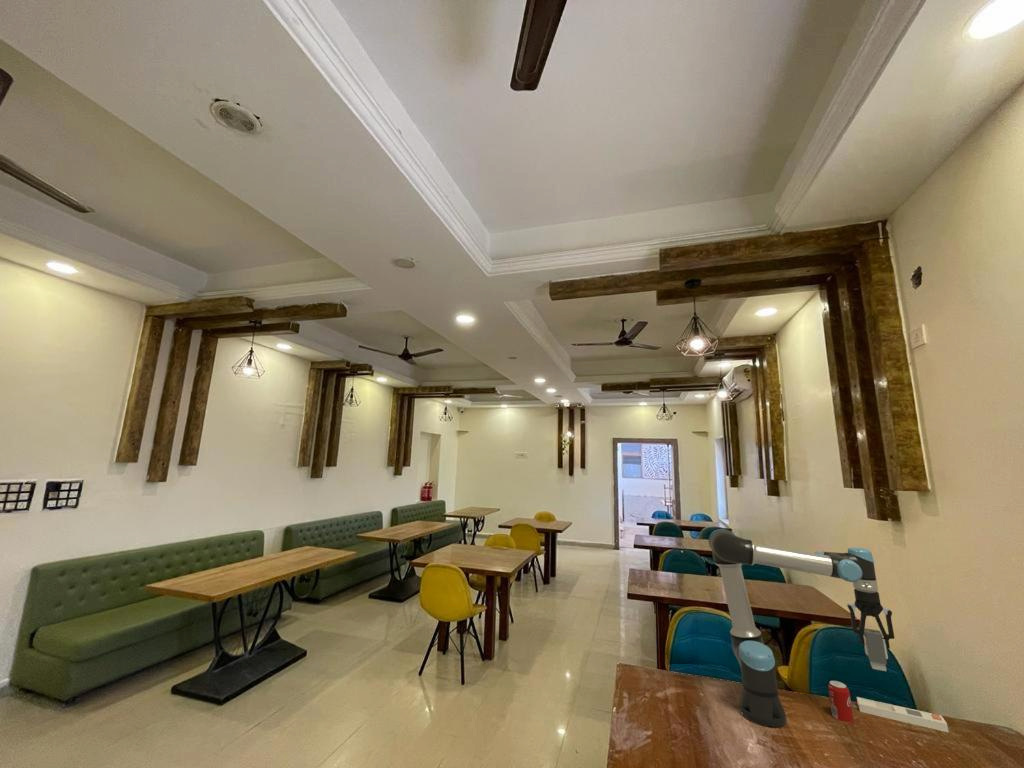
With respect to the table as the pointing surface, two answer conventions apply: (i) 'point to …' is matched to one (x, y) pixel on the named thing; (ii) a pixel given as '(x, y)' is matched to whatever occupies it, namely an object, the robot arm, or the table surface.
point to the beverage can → (840, 702)
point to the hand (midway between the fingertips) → (876, 655)
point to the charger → (876, 649)
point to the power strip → (902, 714)
